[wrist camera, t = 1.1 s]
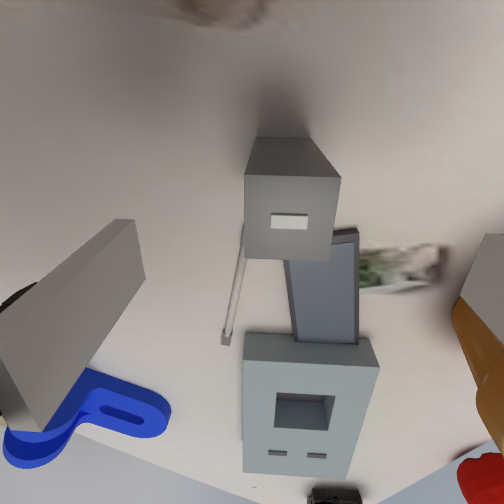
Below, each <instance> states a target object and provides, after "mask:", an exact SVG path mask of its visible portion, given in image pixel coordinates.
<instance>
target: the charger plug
mask: <svg viewBox="0 0 504 504" xmlns="http://www.w3.org/2000/svg"><path fill="white" fill-rule="evenodd" d="M340 184H341V176H340V175H339V174H338V172H337V171H336V170H335V169H334V167H333V166H332V165H331V163H330V162H329V161H328V160H327V158H326V157H325V156H324V154H323V153H322V152H321V151H320V149H319V148H318V147H317V145H316V144H315V143H314V142H313V140H312V139H303V138H259V137H256V138H255V142H254V145H253V148H252V151H251V155H250V158H249V161H248V164H247V168H246V171H245V174H244V258H252V259H277V260H302V261H327V262H328V260H329V254H330V248H331V241H332V235H333V228H334V222H335V216H336V209H337V203H338V196H339V190H340Z"/></svg>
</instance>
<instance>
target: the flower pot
mask: <svg viewBox="0 0 504 504" xmlns="http://www.w3.org/2000/svg"><path fill="white" fill-rule="evenodd" d="M452 323H453V326H454V329H455V331H456V334H457V337H458V339H459V342H460V345H461V347H462V350H463V352H464V355H465V357H466V360H467V362H468V365H469V367H470V370H471V372H472V375H473V377H474V380H475V382H476V385H477V387H478V390H477V394H476V407H477V410H478V413H479V415H480V417H481V419H482V421H483V423H484V425H485V426H486V428H487V430H488V432H489V434H490V435H491V437H492V439H493V440H494V442H495V444H496V445H497V447H498V449H499V450H500V452H501V454H502V455H503V457H504V344H503V343H502V342H501V341H500V340H499V339H498V338H497V336H496V335H495V334H494V333H493V332H492V331H491V330H490V329H489V327H488V326H487V325H486V324H485V323H484V322H483V321H482V320H481V318H480V317H479V316H478V315H477V314H476V313H475V312H474V311H473V309H472V308H471V307H470V306H469V305H468V304H467V303H466V302H465V300H464V299H463V298H462V297H460V298H459V300H458V301H457V303H456V305H455V307H454V309H453V313H452Z"/></svg>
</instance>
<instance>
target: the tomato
mask: <svg viewBox="0 0 504 504" xmlns="http://www.w3.org/2000/svg"><path fill="white" fill-rule="evenodd" d="M457 480H458V483H459V486H460V488H461V491H462V493H463V495H464V497H465V499H466V501H467V502H468V504H504V457H503V455H502V454H501V453H491V452H490V453H485V454H482V455H481V457H480V458H476V459H475V458H467V459H465V460H464V461H463V462H462V463H461V464H460V465H459V467H458V470H457Z"/></svg>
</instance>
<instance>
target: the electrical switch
mask: <svg viewBox="0 0 504 504" xmlns="http://www.w3.org/2000/svg"><path fill="white" fill-rule="evenodd" d="M340 495H341V499H340ZM329 496H330V498H329ZM333 496H337V497H338V498H333ZM307 504H363V503H362V500H361V496H360V493H359V495H358V491H356V490H334V489H313V492H312V497H309V498H308V499H307Z"/></svg>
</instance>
